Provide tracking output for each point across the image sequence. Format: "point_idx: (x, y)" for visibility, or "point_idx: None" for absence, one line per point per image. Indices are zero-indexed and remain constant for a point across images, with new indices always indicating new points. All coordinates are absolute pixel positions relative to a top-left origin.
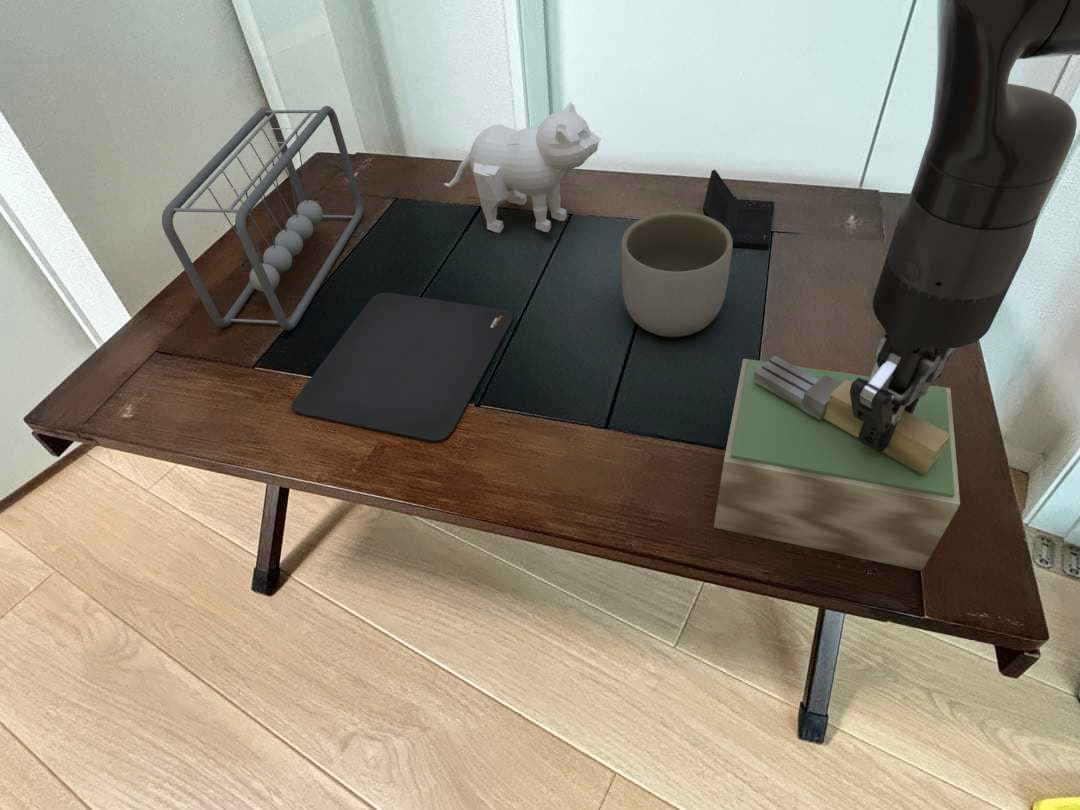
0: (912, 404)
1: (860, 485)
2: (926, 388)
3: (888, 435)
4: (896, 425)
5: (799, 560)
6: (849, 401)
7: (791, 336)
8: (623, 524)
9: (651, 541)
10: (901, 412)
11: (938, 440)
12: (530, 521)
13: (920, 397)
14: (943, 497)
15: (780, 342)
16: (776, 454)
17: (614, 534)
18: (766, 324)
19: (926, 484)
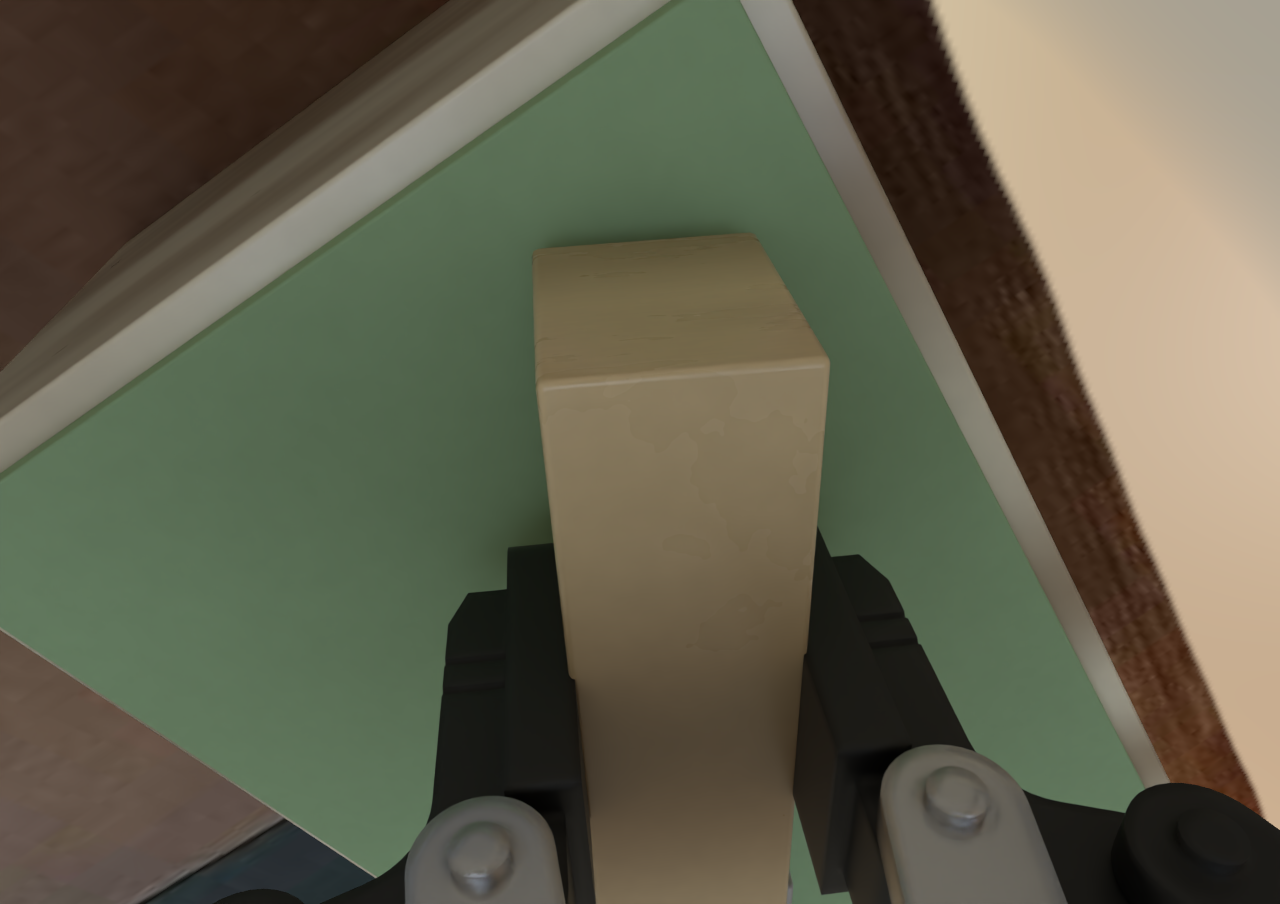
0: (578, 765)
1: (986, 414)
2: (447, 883)
3: (862, 635)
4: (819, 688)
5: (914, 249)
6: (765, 894)
7: (99, 833)
8: (1109, 637)
9: (1119, 564)
10: (937, 855)
11: (690, 416)
12: (1224, 752)
13: (528, 815)
14: (762, 21)
15: (157, 833)
16: (1055, 736)
17: (1152, 629)
18: (138, 893)
19: (771, 173)
